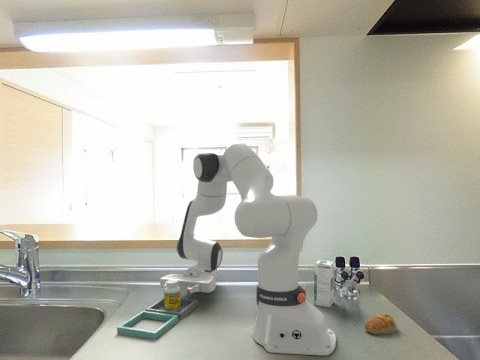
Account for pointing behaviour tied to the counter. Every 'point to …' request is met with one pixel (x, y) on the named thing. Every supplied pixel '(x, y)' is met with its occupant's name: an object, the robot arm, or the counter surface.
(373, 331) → the pastry
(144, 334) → the bin
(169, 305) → the supplement bottle
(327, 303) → the syrup box
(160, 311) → the bin
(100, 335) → the counter surface
